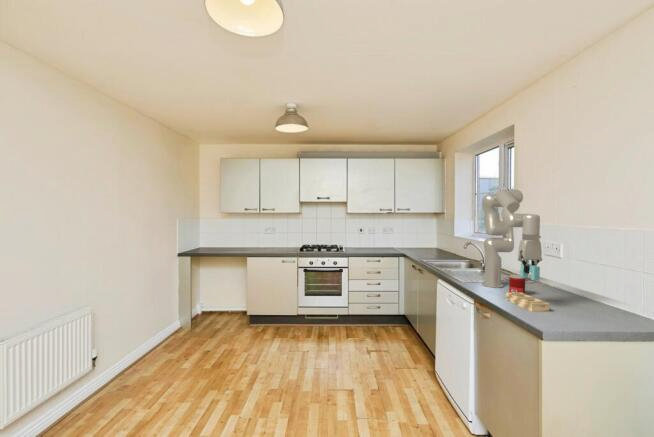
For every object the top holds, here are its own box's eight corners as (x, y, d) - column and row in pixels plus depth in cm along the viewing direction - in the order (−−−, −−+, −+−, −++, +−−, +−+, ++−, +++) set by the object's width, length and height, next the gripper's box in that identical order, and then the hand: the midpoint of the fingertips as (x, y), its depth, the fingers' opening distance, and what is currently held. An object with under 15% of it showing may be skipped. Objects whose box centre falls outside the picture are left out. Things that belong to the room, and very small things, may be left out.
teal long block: (520, 276, 170) (520, 263, 169) (525, 276, 170) (525, 263, 170) (534, 280, 160) (534, 266, 159) (539, 280, 160) (539, 266, 160)
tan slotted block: (505, 299, 175) (506, 292, 174) (521, 299, 175) (521, 292, 175) (531, 311, 155) (532, 303, 154) (549, 311, 155) (549, 303, 155)
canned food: (527, 296, 181) (527, 277, 180) (511, 295, 183) (512, 277, 182) (521, 293, 188) (522, 275, 188) (507, 292, 190) (507, 274, 190)
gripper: (539, 237, 168) (538, 271, 169) (511, 237, 167) (510, 271, 168) (550, 238, 161) (549, 274, 162) (521, 238, 159) (520, 274, 160)
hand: (529, 272), depth 165 cm, fingers closed on teal long block, 2 cm apart
